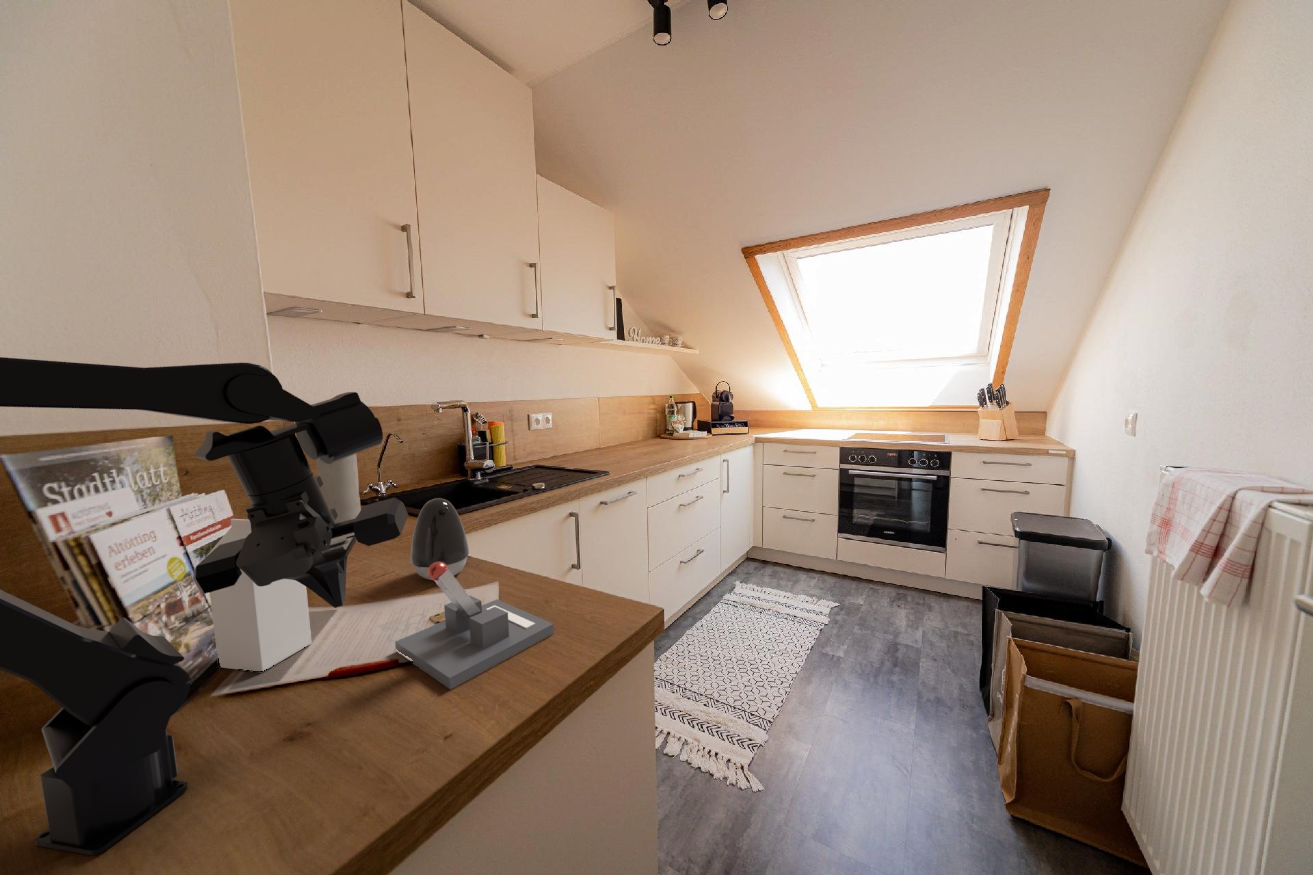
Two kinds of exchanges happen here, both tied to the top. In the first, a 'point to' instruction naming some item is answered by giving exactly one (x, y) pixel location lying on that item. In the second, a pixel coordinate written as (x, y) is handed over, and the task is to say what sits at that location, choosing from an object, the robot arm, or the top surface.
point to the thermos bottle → (341, 487)
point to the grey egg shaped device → (439, 538)
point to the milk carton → (258, 617)
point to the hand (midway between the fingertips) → (340, 604)
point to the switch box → (473, 641)
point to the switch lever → (453, 590)
